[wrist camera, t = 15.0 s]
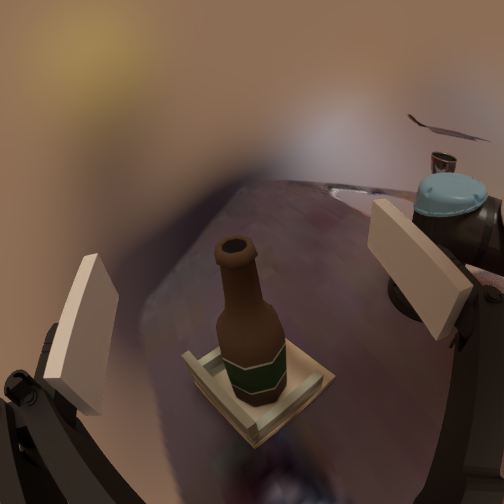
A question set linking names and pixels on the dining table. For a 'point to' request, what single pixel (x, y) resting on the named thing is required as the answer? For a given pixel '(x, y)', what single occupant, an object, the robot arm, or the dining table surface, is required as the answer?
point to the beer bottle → (249, 327)
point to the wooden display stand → (265, 416)
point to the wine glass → (442, 163)
